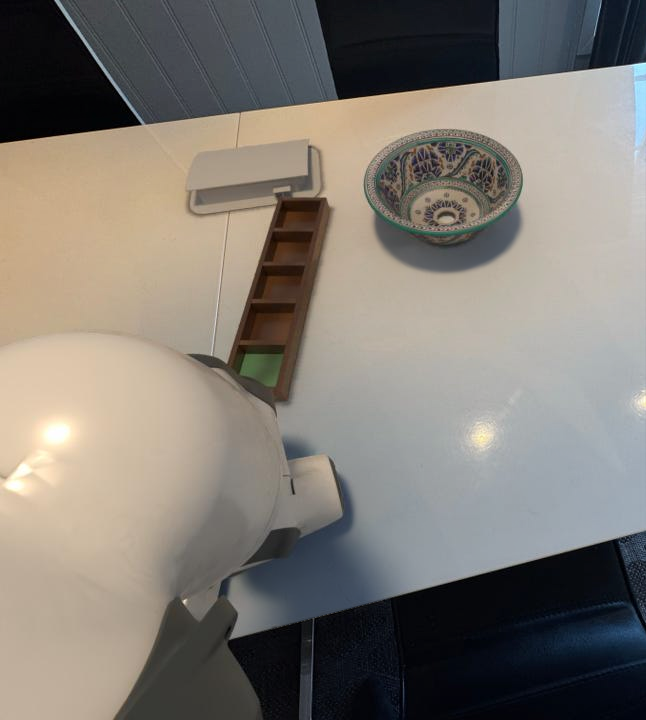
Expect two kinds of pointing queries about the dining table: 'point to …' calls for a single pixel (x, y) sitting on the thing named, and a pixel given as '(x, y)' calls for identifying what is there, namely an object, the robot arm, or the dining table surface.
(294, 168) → the grey hinged lid tray
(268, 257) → the rack
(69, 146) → the dining table surface
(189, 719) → the robot arm
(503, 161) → the bowl
